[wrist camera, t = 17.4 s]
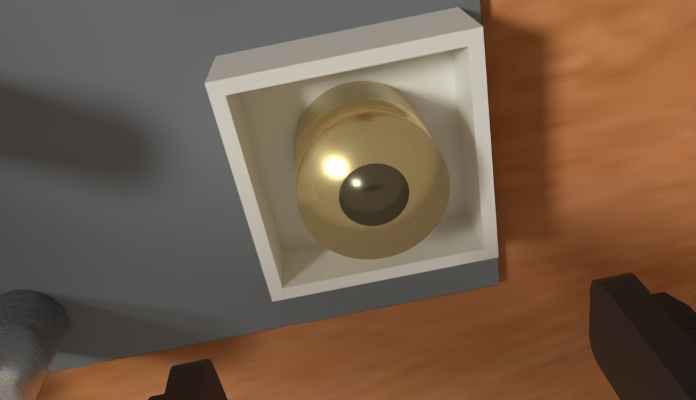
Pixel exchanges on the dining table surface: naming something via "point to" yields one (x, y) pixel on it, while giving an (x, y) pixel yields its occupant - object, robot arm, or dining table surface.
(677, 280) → the dining table surface
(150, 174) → the mat
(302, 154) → the nut
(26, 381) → the spacers
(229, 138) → the white square tray
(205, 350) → the dining table surface
